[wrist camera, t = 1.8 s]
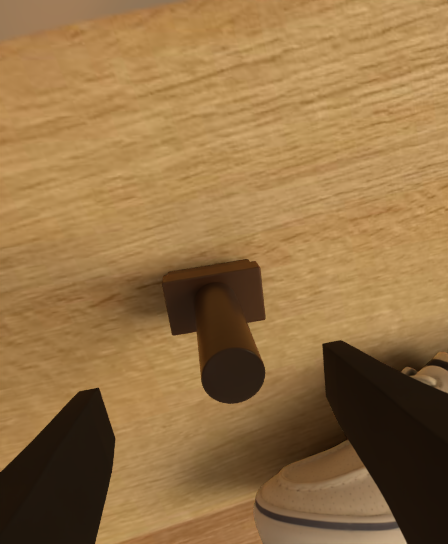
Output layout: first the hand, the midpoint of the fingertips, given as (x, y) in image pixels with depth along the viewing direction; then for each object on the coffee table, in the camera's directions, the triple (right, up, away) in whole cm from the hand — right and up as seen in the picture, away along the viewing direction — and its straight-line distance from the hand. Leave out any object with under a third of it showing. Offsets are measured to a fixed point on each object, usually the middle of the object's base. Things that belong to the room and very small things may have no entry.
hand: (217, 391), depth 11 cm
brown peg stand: (-1, +3, +9) cm, 10 cm away
